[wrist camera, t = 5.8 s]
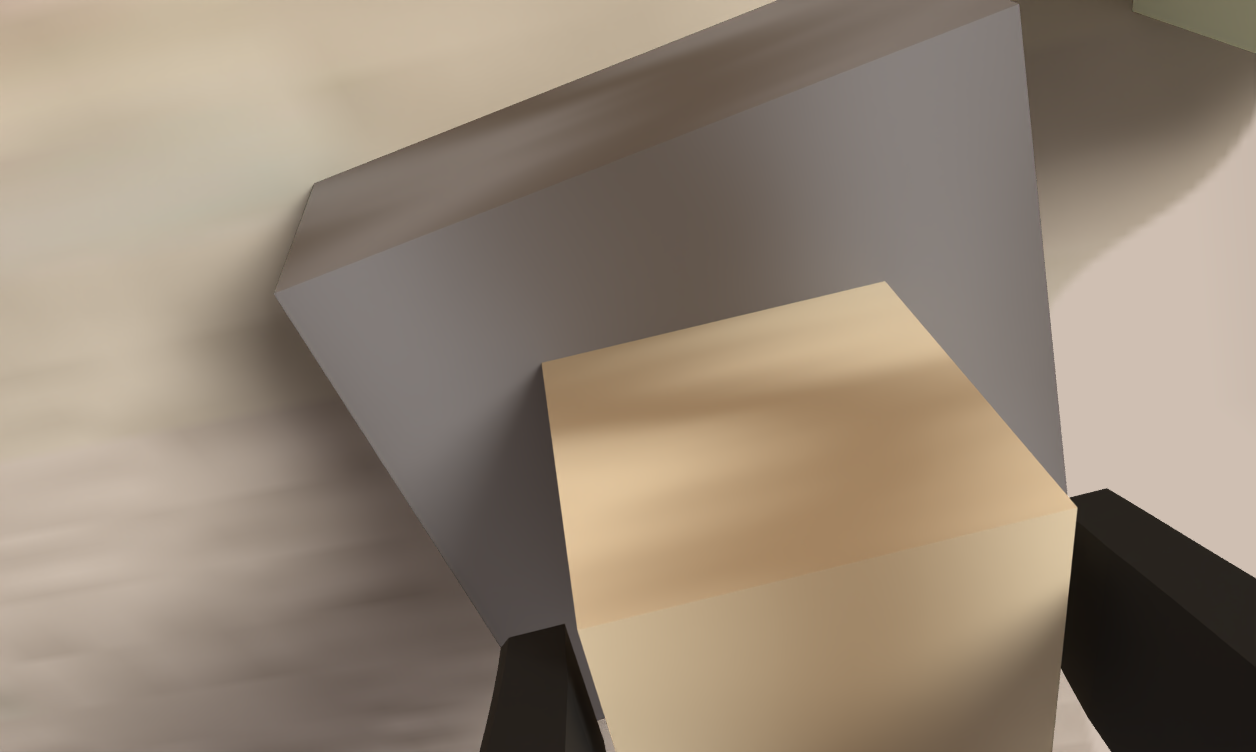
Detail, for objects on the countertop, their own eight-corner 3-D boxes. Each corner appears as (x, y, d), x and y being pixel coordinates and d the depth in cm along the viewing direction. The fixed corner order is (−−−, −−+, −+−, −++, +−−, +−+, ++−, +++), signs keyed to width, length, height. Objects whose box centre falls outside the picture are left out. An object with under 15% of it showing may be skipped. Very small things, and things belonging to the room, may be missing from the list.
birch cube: (610, 606, 14) (661, 898, 11) (541, 363, 12) (578, 630, 8) (895, 536, 14) (1047, 801, 11) (884, 281, 12) (1077, 507, 8)
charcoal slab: (540, 568, 19) (557, 734, 16) (317, 173, 14) (272, 293, 11) (963, 414, 19) (1072, 552, 15) (883, -50, 14) (1018, 3, 10)
